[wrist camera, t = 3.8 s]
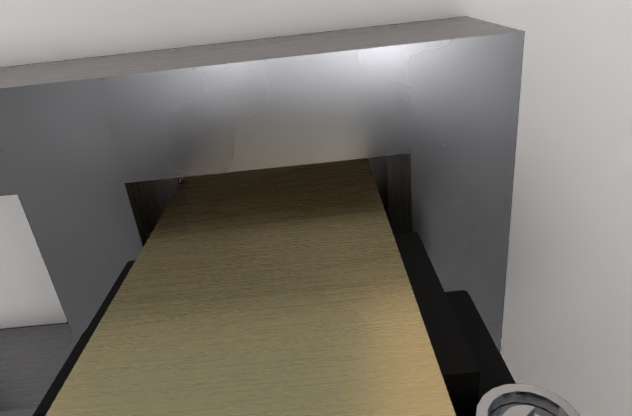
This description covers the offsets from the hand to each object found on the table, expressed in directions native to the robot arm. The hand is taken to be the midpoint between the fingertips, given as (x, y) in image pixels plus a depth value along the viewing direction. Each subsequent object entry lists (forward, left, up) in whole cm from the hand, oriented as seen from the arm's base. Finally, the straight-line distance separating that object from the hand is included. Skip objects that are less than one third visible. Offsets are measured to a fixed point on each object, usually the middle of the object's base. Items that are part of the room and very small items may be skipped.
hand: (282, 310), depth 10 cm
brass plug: (0, 0, -4) cm, 4 cm away
